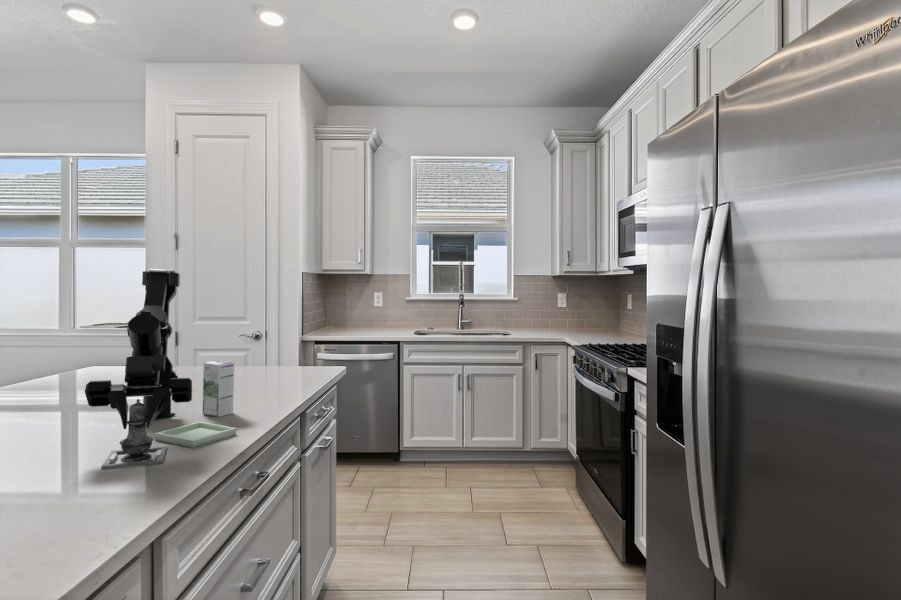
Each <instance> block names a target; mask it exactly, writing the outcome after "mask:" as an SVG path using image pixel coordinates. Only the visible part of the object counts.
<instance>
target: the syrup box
mask: <svg viewBox="0 0 901 600" xmlns="http://www.w3.org/2000/svg"><path fill="white" fill-rule="evenodd" d="M202 380H203V382H202V383H203V385H202V415H203V416H209V417H215V418H220V417H224V415H225V416H228V415H231V414H233V413H234V393H235V392H234V388H235V387H234V385H235V384H234V383H235V362H234V361H226V360H212V361H206V362H203V379H202ZM227 414H228V415H227Z"/></svg>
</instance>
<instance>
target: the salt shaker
mask: <svg viewBox="0 0 901 600" xmlns="http://www.w3.org/2000/svg"><path fill="white" fill-rule="evenodd" d="M140 401H141V400H140V399H139V398H137V399H136V402H135V403H133V404H131V405H130V407H129V410H128V411H129V412H128V414H129V415H128V416H129V418H128V420H127V425H128V431H127V436H126V437H125V438H124V439H121V440H120V441H119V445H120V447H121V450H123V452H125V453H124V454H125V455H124V456H122V457H120V462H121V463H128V462H139V461H149V460H150V459H151V458H152V457H153V456H152V454H151V453H150V452H149V451H148V450H149V449H150V448H151V447H152V444H153V442H154V440H155V437H152V436H148V434H147V433H148V432H147V419H146V406H145V405H144V404H143V402H140ZM146 451H148V452H149V453H148V452H146Z"/></svg>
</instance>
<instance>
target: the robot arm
mask: <svg viewBox="0 0 901 600" xmlns="http://www.w3.org/2000/svg"><path fill="white" fill-rule="evenodd" d="M180 276H181V274H180V273H179V272H176V270H175V269H162V268H149V269H148V270H146V271H145V270H144V271H142V277H141V278H142V280H141V285H142V286H144V287H145V291H146V292H145V297H144V303H143V308H142V309H141V310H139V311H138V312H136V314H135V316H133V317H132V318H131V319H130V320H129V321H128V322H127V330H126V331H127V336H128V337H129V342H130V347H131V348H132V353H131V356H127V357H126V361H125V369H124V370H125V371H124V373H125V375H124V383H126V385H125V384H119V383H118V384H112V381H111V379H109V380H108V379H106V380H105V379H103V380H90V381H88V382H87V384H86V385H85V389H84V395H85V397H86V401H87V404H88V406H90V407H91V408H93V407H95V408H96V407H98V408H99V407H108V406H110V408H111V409H114V410H115V409H116V410H117V412H118V415H119V416H120V419H121V420H120V421H121V423H122V429H123V430H127V428H128V424H127V422H128V421H129V418H128V416H129V415H128V414H129V412H128V411H129V406H128V399H127V398H129V397H130V398H132V397H142V398H143V401H142V404H144V405H145V406H146V420H147V423H146V429H147V428H148V429H149V428H150V427H151V426H152V424H153V423H154V421H156V420H159V419H160V420H161V419H164V418H168V417H172V416H175V415H176V413H175V412H172V401H173V402H174V403H175V404H177V403H190V402H191V401H192V400H193V380H192V379H191V378H190V377H179V376H178V375H177V374H176V371H175V370H174V365H173V363H172V361H171V360H170V359H169V357H168V343H169V342H168V339H170V337H171V334H173V327H172V325H171V323H169V322H170V320H169V319H170V303H171V301H173V299H174V298H175V296H176V295H177V290H178V288H180V285H181V284H180V282H181V277H180Z"/></svg>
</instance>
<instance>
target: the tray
mask: <svg viewBox="0 0 901 600" xmlns="http://www.w3.org/2000/svg"><path fill="white" fill-rule="evenodd" d="M234 434H236V435H237V427H233V426H227V425H222V424H221V425H220V424H215V423H210V422H206V421H205V422H204V421H196V422H193V423H188V424H185V425H181V426H177V427H174V428H171V429H170V428H169V429H167V430H162V431H159V432H155V433H154V440H155V441H160V442H164V443H169V444H173V445H178V446H183V447H189V448H197V447H201V446H203V445H207V444H211V443H213V441H214V442H217V441H220V440H223V439H226V438H229V437H232V436H231V435H233V436H235V435H234ZM225 437H226V438H225ZM222 438H223V439H222ZM219 439H220V440H219ZM216 440H217V441H216Z"/></svg>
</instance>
